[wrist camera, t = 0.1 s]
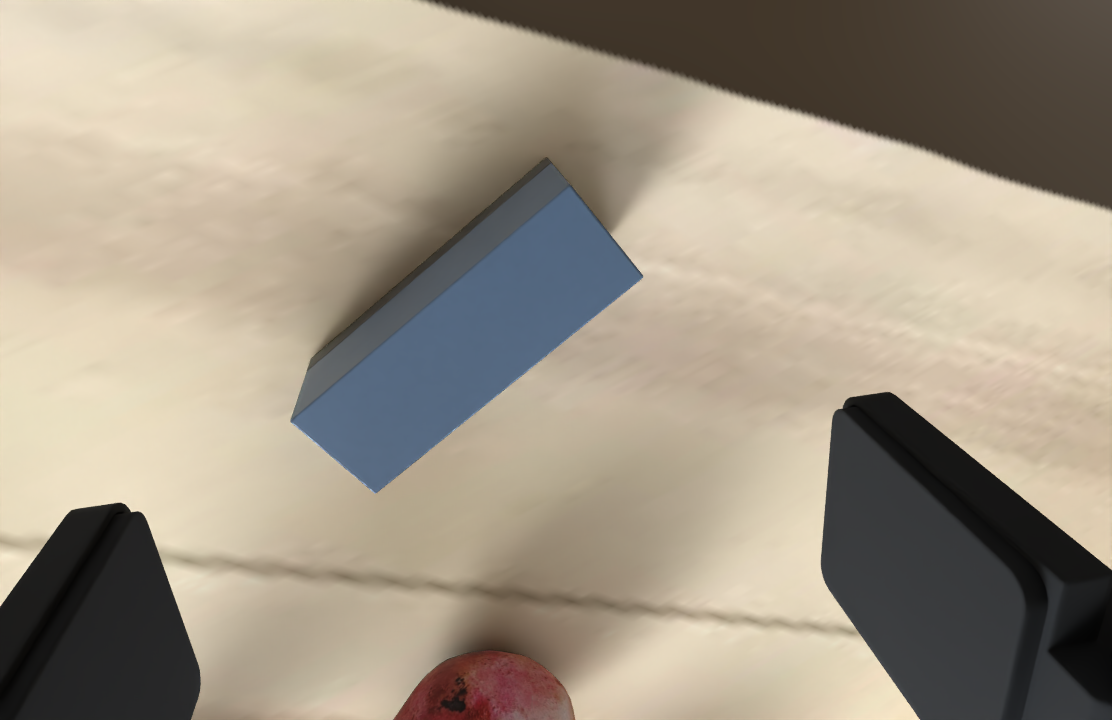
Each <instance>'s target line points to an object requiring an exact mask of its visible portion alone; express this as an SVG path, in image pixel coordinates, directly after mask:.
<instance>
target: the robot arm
mask: <svg viewBox="0 0 1112 720" xmlns="http://www.w3.org/2000/svg"><path fill="white" fill-rule="evenodd" d="M821 569H822V574H823V578H824V581H825V583H826V585H827V587H828V589H829V590H830V592H831V593H832V595H833V596H834V598H835V599H836V600H837V602H838V603H839V605H840V606H841V607H842V609H843V610H844V612H845V613H846V615H847V616H848V617H849V619H850V620H851V622H852V623H853V625H854V626H855V627H856V629H857V630H858V632H859V633H860V635H861V636H862V637H863V639H864V640H865V642H866V643H867V645H868V646H869V647H870V649H871V650H872V652H873V653H874V655H875V656H876V657H877V659H878V660H879V662H880V663H881V665H882V666H883V667H884V669H885V670H886V672H887V673H888V674H889V676H890V677H891V679H892V680H893V682H894V683H895V684H896V686H897V687H898V689H899V690H900V692H901V693H902V694H903V696H904V697H905V699H906V700H907V702H908V703H909V704H910V706H911V707H912V709H913V710H914V712H915V713H916V714H917V716H918V717H919V719H920V720H1112V570H1111V569H1110V568H1108V567H1107V566H1106V565H1105V564H1103V563H1102V562H1101V561H1100V560H1098V559H1097V558H1096V557H1095V556H1094V555H1092V554H1091V553H1090V552H1089V551H1087V550H1086V549H1085V548H1084V547H1082V546H1081V545H1080V544H1079V543H1077V542H1076V541H1075V540H1074V539H1073V538H1071V537H1070V536H1069V535H1068V534H1066V533H1065V532H1064V531H1063V530H1061V529H1060V528H1059V527H1058V526H1056V525H1055V524H1054V523H1053V522H1052V521H1050V520H1049V519H1048V518H1047V517H1045V516H1044V515H1043V514H1042V513H1040V512H1039V511H1038V510H1037V509H1035V508H1034V507H1033V506H1032V505H1030V504H1029V503H1028V502H1027V501H1026V500H1024V499H1023V498H1022V497H1021V496H1019V495H1018V494H1017V493H1016V492H1014V491H1013V490H1012V489H1011V488H1009V487H1008V486H1007V485H1006V484H1005V483H1003V482H1002V481H1001V480H1000V479H998V478H997V477H996V476H995V475H993V474H992V473H991V472H990V471H988V470H987V469H986V468H985V467H983V466H982V465H981V464H980V463H979V462H977V461H976V460H975V459H974V458H972V457H971V456H970V455H969V454H967V453H966V452H965V451H964V450H962V449H961V448H960V447H959V446H958V445H956V444H955V443H954V442H953V441H951V440H950V439H949V438H948V437H946V436H945V435H944V434H943V433H941V432H940V431H939V430H938V429H936V428H935V427H934V426H933V425H932V424H930V423H929V422H928V421H927V420H925V419H924V418H923V417H922V416H920V415H919V414H918V413H917V412H915V411H914V410H913V409H912V408H911V407H909V406H908V405H907V404H906V403H904V402H903V401H902V400H901V399H899V398H898V397H897V396H896V395H894V394H892V393H890V392H884V393H877V394H870V395H863V396H857V397H850V398H848V399H847V400H846V401H845V403H844V405H843V409H838V410H836V411H835V413H834V415H833V419H832V429H831V442H830V454H829V466H828V479H827V491H826V504H825V516H824V528H823V541H822V553H821ZM200 685H201V677H200V669H199V665H198V662H197V660H196V657H195V654H194V651H193V648H192V646H191V643H190V640H189V637H188V634H187V632H186V629H185V626H184V623H183V620H182V618H181V615H180V612H179V609H178V606H177V604H176V601H175V598H174V595H173V592H172V590H171V587H170V584H169V581H168V578H167V576H166V573H165V570H164V567H163V564H162V562H161V559H160V556H159V553H158V550H157V548H156V545H155V542H154V539H153V536H152V534H151V531H150V528H149V525H148V522H147V520H146V518H145V516H144V515H143V514H142V513H141V512H138V511H137V512H131V511H130V509H129V508H128V507H127V506H126V505H125V504H123V503H114V504H107V505H101V506H94V507H87V508H80V509H75V510H71V511H70V512H69V513H68V514H67V515H66V516H65V518H64V519H63V521H62V522H61V523H60V525H59V526H58V527H57V529H56V530H55V532H54V533H53V534H52V536H51V537H50V539H49V540H48V541H47V543H46V544H45V545H44V547H43V548H42V550H41V551H40V552H39V554H38V555H37V557H36V558H35V559H34V561H33V562H32V563H31V565H30V566H29V568H28V569H27V570H26V572H25V573H24V575H23V576H22V577H21V579H20V580H19V581H18V583H17V584H16V586H15V587H14V588H13V590H12V591H11V593H10V594H9V595H8V597H7V598H6V599H5V601H4V602H3V604H2V605H1V606H0V720H191V718H192V715H193V712H194V709H195V706H196V703H197V700H198V697H199V693H200Z"/></svg>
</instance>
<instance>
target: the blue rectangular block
mask: <svg viewBox="0 0 1112 720" xmlns="http://www.w3.org/2000/svg"><path fill="white" fill-rule="evenodd" d="M642 278H643V275H642V274H641V272H640V271H639V270H638V269H637V267H636V266H635V265H634V264H633V262H632V261H631V260H630V259H629V257H628V256H627V255H626V254H625V252H624V251H623V250H622V249H621V247H620V246H619V245H618V244H617V242H616V241H615V240H614V239H613V237H612V236H611V235H610V234H609V232H608V231H607V230H606V229H605V227H604V226H603V225H602V224H601V222H600V221H599V220H598V219H597V217H596V216H595V215H594V214H593V212H592V211H591V210H590V209H589V207H588V206H587V205H586V204H585V202H584V201H583V200H582V199H581V197H580V196H579V195H578V194H577V192H576V191H575V190H574V189H573V187H572V186H571V185H570V184H569V183H568V181H567V180H566V179H565V178H564V177H563V176H562V174H561V173H560V172H559V171H558V170H557V168H556V167H555V166H554V165H553V164H552V163H551V161H550V160H549V159H548V158H545V159H544V160H542V161H541V162H540V163H539V164H538V165H537V166H535V167H534V168H533V169H532V170H531V171H530V172H528V173H527V174H526V175H525V176H524V177H523V178H521V179H520V180H519V181H518V182H517V183H516V184H514V185H513V186H512V187H511V188H510V189H509V190H507V191H506V192H505V193H504V194H503V195H502V196H500V197H499V198H498V199H497V200H496V201H495V202H493V203H492V204H491V205H490V206H489V207H488V208H486V209H485V210H484V211H483V212H482V213H481V214H479V215H478V216H477V217H476V218H475V219H474V220H472V221H471V222H470V223H469V224H468V225H467V226H465V227H464V228H463V229H462V230H461V231H460V232H458V233H457V234H456V235H455V236H454V237H453V238H451V239H450V240H449V241H448V242H447V243H446V244H444V245H443V246H442V247H441V248H440V249H439V250H437V251H436V252H435V253H434V254H433V255H431V256H430V257H429V258H428V259H427V260H426V261H424V262H423V263H422V264H421V265H420V266H419V267H417V268H416V269H415V270H414V271H413V272H412V273H410V274H409V275H408V276H407V277H406V278H405V279H403V280H402V281H401V282H400V283H399V284H398V285H396V286H395V287H394V288H393V289H392V290H391V291H389V292H388V293H387V294H386V295H385V296H384V297H382V298H381V299H380V300H379V301H378V302H377V303H375V304H374V305H373V306H372V307H371V308H370V309H368V310H367V311H366V312H365V313H364V314H363V315H361V316H360V317H359V318H358V319H357V320H356V321H354V322H353V323H352V324H351V325H350V326H349V327H347V328H346V329H345V330H344V331H343V332H342V333H340V334H339V335H338V336H337V337H336V338H335V339H333V340H332V341H331V342H330V343H329V344H328V345H326V346H325V347H324V348H323V349H322V350H321V351H319V352H318V353H317V354H316V355H315V356H314V357H312V358H311V360H310V363H309V366H308V369H307V373H306V376H305V379H304V381H303V384H302V387H301V390H300V393H299V396H298V399H297V402H296V405H295V408H294V411H293V414H292V417H291V420H290V421H291V423H292V424H293V425H295V426H296V427H297V428H298V429H299V430H301V431H302V432H303V433H304V434H305V435H306V436H308V437H309V438H310V439H311V440H312V441H314V442H315V443H316V444H317V445H318V446H319V447H321V448H322V449H323V450H324V451H325V452H326V453H328V454H329V455H330V456H331V457H332V458H334V459H335V460H336V461H337V462H338V463H339V464H341V465H342V466H343V467H344V468H345V469H346V470H348V471H349V472H350V473H351V474H352V475H354V476H355V477H356V478H357V479H358V480H359V481H361V482H362V483H363V484H364V485H365V486H366V487H368V488H369V489H370V490H371V491H372V492H374V493H377V492H378V491H380V490H381V489H382V488H383V487H385V486H386V485H387V484H388V483H390V482H391V481H392V480H393V479H395V478H396V477H397V476H398V475H400V474H401V473H402V472H403V471H404V470H406V469H407V468H408V467H409V466H411V465H412V464H413V463H414V462H416V461H417V460H418V459H419V458H421V457H422V456H423V455H424V454H426V453H427V452H428V451H429V450H430V449H432V448H433V447H434V446H435V445H437V444H438V443H439V442H440V441H442V440H443V439H444V438H445V437H447V436H448V435H449V434H450V433H451V432H453V431H454V430H455V429H456V428H458V427H459V426H460V425H461V424H463V423H464V422H465V421H466V420H468V419H469V418H470V417H471V416H473V415H474V414H475V413H476V412H477V411H479V410H480V409H481V408H482V407H484V406H485V405H486V404H487V403H489V402H490V401H491V400H492V399H494V398H495V397H496V396H497V395H499V394H500V393H501V392H502V391H503V390H505V389H506V388H507V387H508V386H510V385H511V384H512V383H513V382H515V381H516V380H517V379H518V378H520V377H521V376H522V375H523V374H524V373H526V372H527V371H528V370H529V369H531V368H532V367H533V366H534V365H536V364H537V363H538V362H539V361H541V360H542V359H543V358H544V357H546V356H547V355H548V354H549V353H550V352H552V351H553V350H554V349H555V348H557V347H558V346H559V345H560V344H562V343H563V342H564V341H565V340H567V339H568V338H569V337H570V336H572V335H573V334H574V333H575V332H576V331H578V330H579V329H580V328H581V327H583V326H584V325H585V324H586V323H588V322H589V321H590V320H591V319H593V318H594V317H595V316H596V315H598V314H599V313H600V312H601V311H602V310H604V309H605V308H606V307H607V306H609V305H610V304H611V303H612V302H614V301H615V300H616V299H617V298H619V297H620V296H621V295H622V294H623V293H625V292H626V291H627V290H628V289H630V288H631V287H632V286H633V285H635V284H636V283H637V282H638V281H640V280H641V279H642Z"/></svg>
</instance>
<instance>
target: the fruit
mask: <svg viewBox="0 0 1112 720" xmlns="http://www.w3.org/2000/svg"><path fill="white" fill-rule="evenodd" d="M393 720H575V716H574V711H573V707H572V703H571V700H570V697H569V695H568V693H567V691H566V689H565V688H564V687H563V685H562V684H561V683H560V682H559V681H558V680H557V679H556V677H554V676H553V675H552V674H551V673H550V672H549V671H548V670H547V669H546V668H544V667H543V666H542V665H540V664H539V663H537V662H535V661H534V660H532V659H530V658H528V657H526V656H523V655H519V654H513V653H508V652H501V651H492V650H487V651H477V652H470V653H466V654H463V655H459V656H456V657H453V658H450V659H447V660H446V661H444V662H442V663H441V664H439V665H438V666H437V667H436V668H434V669H433V670H432V671H431V672H430V673H428V674H427V675H426V676H425V677H424V678H423V679H422V681H421V682H420V683H419V684H418V686H417V687H416V688H415V689H414V691H413V692H412V694H411V695H410V697H409V698H408V699H407V701H406V702H405V704H404V705H403V707H402V708H401V710H400V711H399V712H398V714H397V715H396V717H395V718H394V719H393Z"/></svg>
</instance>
